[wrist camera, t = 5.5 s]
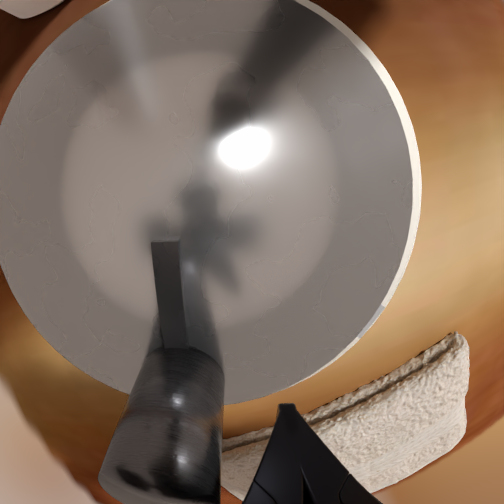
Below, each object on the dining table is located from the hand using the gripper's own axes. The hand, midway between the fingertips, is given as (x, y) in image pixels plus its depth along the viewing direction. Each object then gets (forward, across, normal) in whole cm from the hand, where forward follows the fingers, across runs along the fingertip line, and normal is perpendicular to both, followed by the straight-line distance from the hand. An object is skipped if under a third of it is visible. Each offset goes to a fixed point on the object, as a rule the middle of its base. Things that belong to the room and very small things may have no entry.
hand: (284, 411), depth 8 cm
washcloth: (+6, -6, +10) cm, 13 cm away
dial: (+3, +4, -6) cm, 8 cm away
